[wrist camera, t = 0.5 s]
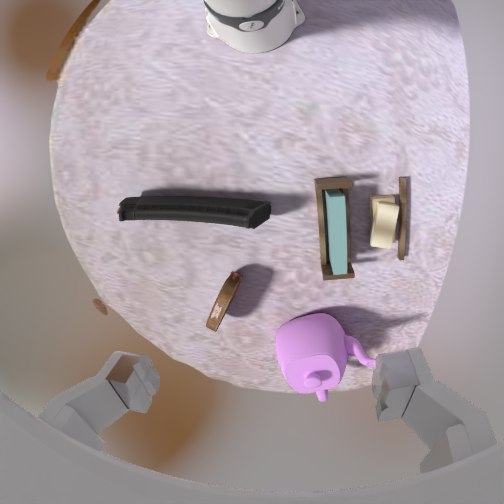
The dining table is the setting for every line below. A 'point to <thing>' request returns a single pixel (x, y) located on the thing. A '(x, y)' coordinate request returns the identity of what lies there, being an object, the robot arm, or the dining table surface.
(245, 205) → the magazine
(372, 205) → the offcut middle
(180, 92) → the dining table surface
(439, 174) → the dining table surface
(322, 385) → the teapot
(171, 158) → the dining table surface
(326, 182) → the rack
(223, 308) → the tin
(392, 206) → the offcut top
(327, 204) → the board
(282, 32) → the robot arm
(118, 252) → the dining table surface
